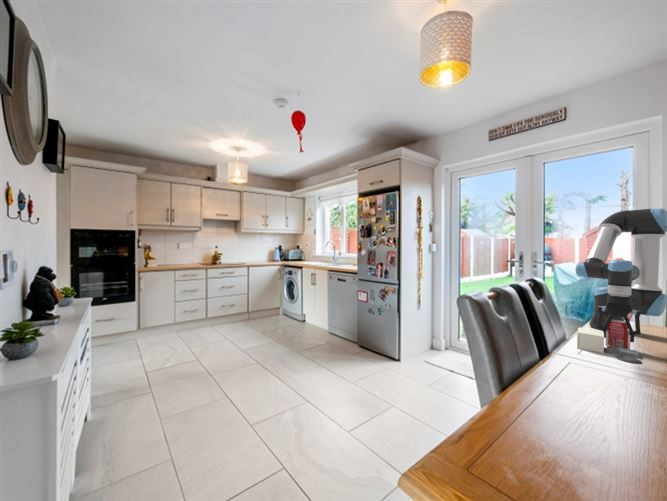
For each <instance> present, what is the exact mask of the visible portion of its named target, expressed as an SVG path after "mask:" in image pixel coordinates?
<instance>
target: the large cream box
mask: <svg viewBox="0 0 667 501" xmlns="http://www.w3.org/2000/svg"><path fill="white" fill-rule="evenodd" d="M576 337H577V338H576V339H577V342H576V348H577V349H580V350H585V351H589V352H595V353H599V354H600V353H601V354H604V353H605V352H604V351H605V349H604V348H605V338H604V332H603V331H602V330H599V329H593V328H587V327H586V328H584V327H578V328H577V336H576Z"/></svg>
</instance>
